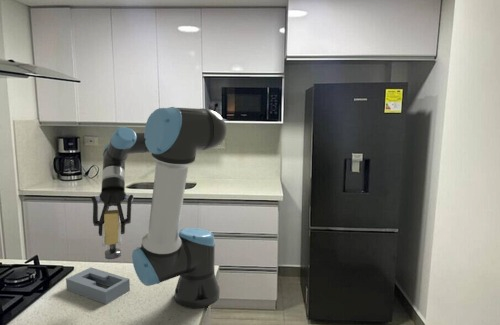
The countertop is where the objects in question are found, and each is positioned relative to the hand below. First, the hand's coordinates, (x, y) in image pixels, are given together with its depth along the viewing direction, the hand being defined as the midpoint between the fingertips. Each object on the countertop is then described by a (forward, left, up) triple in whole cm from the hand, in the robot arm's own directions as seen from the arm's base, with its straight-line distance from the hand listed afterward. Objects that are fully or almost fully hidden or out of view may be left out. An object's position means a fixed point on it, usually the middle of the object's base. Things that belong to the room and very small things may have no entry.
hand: (111, 243), depth 105 cm
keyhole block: (+12, -3, -20) cm, 24 cm away
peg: (+3, -3, -6) cm, 7 cm away
